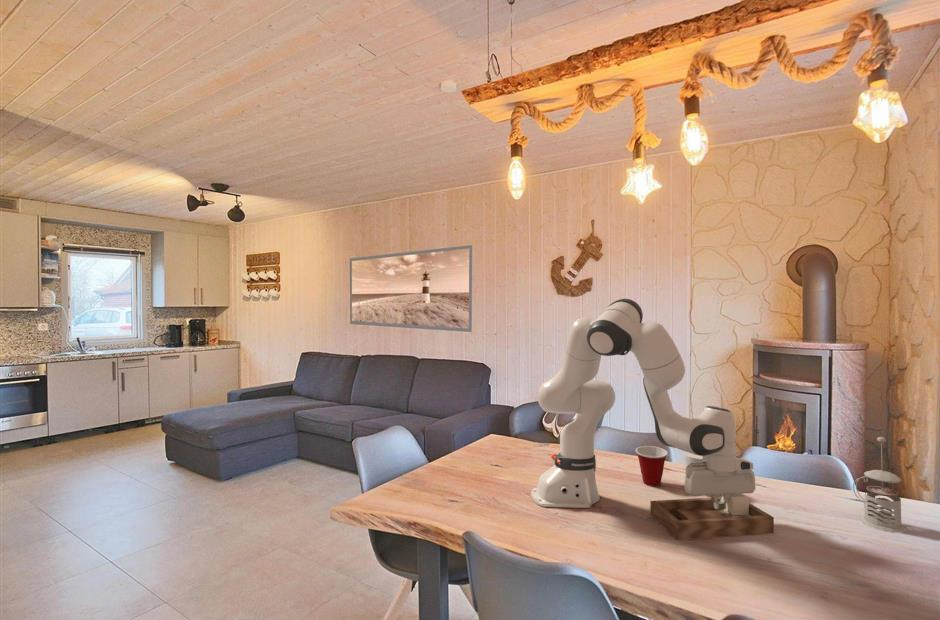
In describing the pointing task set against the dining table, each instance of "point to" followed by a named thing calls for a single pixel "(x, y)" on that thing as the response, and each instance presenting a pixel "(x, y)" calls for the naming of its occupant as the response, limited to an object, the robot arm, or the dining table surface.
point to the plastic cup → (651, 464)
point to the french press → (882, 501)
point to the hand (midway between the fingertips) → (720, 508)
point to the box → (708, 519)
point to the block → (738, 504)
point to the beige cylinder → (693, 458)
